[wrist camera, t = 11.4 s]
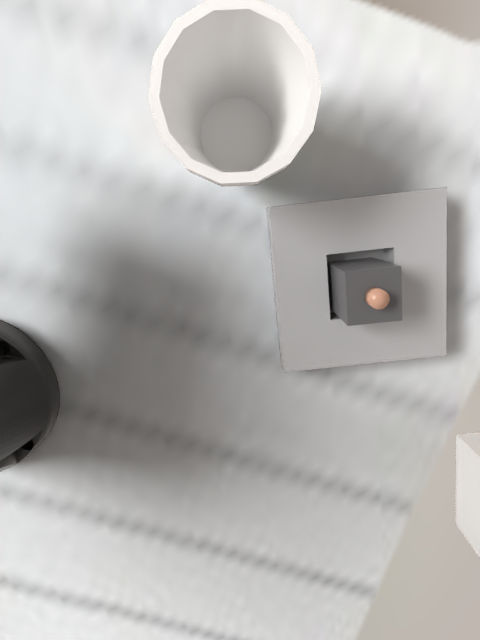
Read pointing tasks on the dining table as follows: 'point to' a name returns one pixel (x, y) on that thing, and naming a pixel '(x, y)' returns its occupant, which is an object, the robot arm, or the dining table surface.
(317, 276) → the socket plate
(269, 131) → the foam cup
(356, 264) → the plug
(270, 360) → the dining table surface
